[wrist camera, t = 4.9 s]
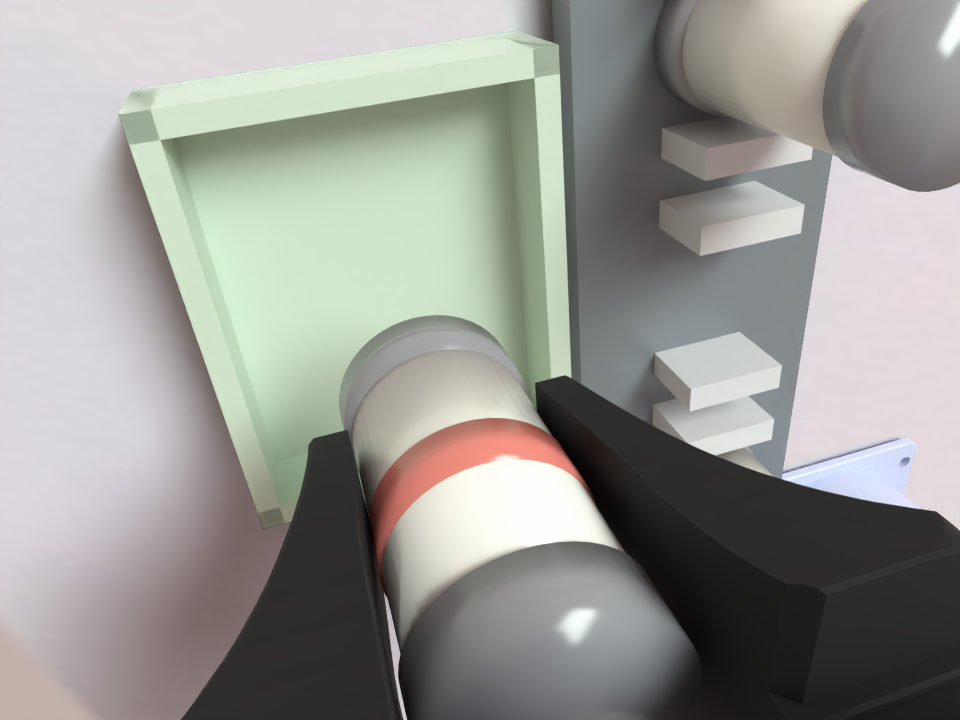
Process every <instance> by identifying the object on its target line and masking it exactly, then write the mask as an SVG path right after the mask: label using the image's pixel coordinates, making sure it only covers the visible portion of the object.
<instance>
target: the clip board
mask: <svg viewBox="0 0 960 720" xmlns="http://www.w3.org/2000/svg"><path fill="white" fill-rule="evenodd" d="M665 1H666V0H551V3H552V27H553V43H555V44H557V45H559V65H560V91H561V117H562V144H563V170H564V196H565V222H566V249H567V275H568V301H569V328H570V354H571V378H572V379H574V380H575V381H577V382H579V383H580V384H582V385H584V386H585V387H587V388H588V389H590V390H592V391H593V392H595V393H597V394H598V395H600V396H602V397H603V398H605V399H607V400H608V401H610V402H612V403H613V404H615V405H617V406H618V407H620V408H622V409H624V410H625V411H627V412H629V413H630V414H632V415H634V416H636V417H638V418H639V419H641V420H643V421H645V422H647V423H648V424H650V425H652V426H654V427H656V428H658V429H660V430H662V431H664V432H666V433H668V434H670V435H672V436H674V437H676V438H678V439H680V440H682V441H684V442H686V443H688V444H690V445H692V446H694V447H697V448H699V449H701V450H703V451H706V452H708V453H710V454H713V455H719V454H722V453H726V452H729V451H733V450H736V449H740V448H743V447H747V446H748V447H749V448H750V450H751V451H752V453H753V456H754V457H755V458H756V459H757V460H758V461H759V462H760V463H761V464H762V465H763V466H764V467H765V468H766V469H767V470H768V471H769V472H770V473H771V474H772V475H773V476H774V477H777V478H780V479H781V478H782V472H783V465H784V459H785V453H786V446H787V440H788V434H789V427H790V421H791V414H792V408H793V402H794V395H795V389H796V383H797V376H798V370H799V363H800V357H801V351H802V344H803V338H804V332H805V325H806V319H807V312H808V306H809V300H810V293H811V287H812V281H813V274H814V268H815V261H816V255H817V249H818V242H819V236H820V230H821V223H822V217H823V211H824V204H825V198H826V191H827V185H828V179H829V172H830V166H831V160H832V154H829V153H827V152H824V151H821V150H819V149H816V148H813V147H811V146H808V145H805V144H803V143H800V142H797V141H795V140H792V139H789V138H787V137H784V136H781V135H779V134H776V133H773V132H771V131H768V130H765V129H763V128H760V127H757V126H755V125H752V124H749V123H747V122H744V121H741V120H739V119H736V118H733V117H720V116H716V115H713V114H710V113H708V112H705V111H703V110H700V109H698V108H695V107H692V106H690V105H687V104H685V103H683V102H681V101H679V100H678V99H676V98H675V97H674V96H673V95H672V94H671V93H670V92H669V91H668V90H667V88H666V87H665V85H664V84H663V82H662V80H661V78H660V76H659V73H658V70H657V66H656V62H655V55H654V40H655V31H656V26H657V22H658V18H659V15H660V12H661V10H662V7H663V5H664V3H665Z"/></svg>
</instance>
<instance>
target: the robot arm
mask: <svg viewBox="0 0 960 720" xmlns="http://www.w3.org/2000/svg"><path fill="white" fill-rule="evenodd" d="M535 392H536V406H537V412H538V414H539V415H540V417H541V418H542V420H543V422H544V423H545V425H546V426H547V428H548V430H549V431H550V433H551V434H552V436H553V437H554V438H555V439H556V440H557V441H558V442H559V443H560V444H561V446H562V447H563V448H564V449H565V451H566V453H567V454H568V456H569V457H570V459H571V461H572V462H573V464H574V465H575V467H576V468H577V470H578V472H579V473H580V475H581V476H582V478H583V479H584V481H585V483H586V484H587V486H588V487H589V489H590V491H591V493H592V495H593V496H594V499H595V502H596V505H597V508H598V510H599V511H600V513H601V514H602V516H603V518H604V519H605V521H606V522H607V524H608V526H609V527H610V529H611V530H612V532H613V534H614V535H615V537H616V538H617V540H618V542H619V543H620V545H621V546H622V548H623V550H624V551H625V553H626V554H628V555H629V556H631V557H632V558H633V559H635V560H636V561H637V562H638V563H639V564H640V565H641V566H642V567H643V568H644V570H645V571H646V572H647V574H648V575H649V577H650V578H651V580H652V581H653V583H654V585H655V586H656V588H657V589H658V591H659V592H660V594H661V595H662V597H663V599H664V600H665V602H666V603H667V605H668V606H669V608H670V610H671V611H672V613H673V614H674V616H675V617H676V619H677V620H678V622H679V624H680V625H681V627H682V628H683V630H684V631H685V633H686V635H687V636H688V638H689V639H690V641H691V642H692V644H693V646H694V647H695V649H696V651H697V653H698V655H699V659H700V663H701V674H702V678H701V684H700V689H699V693H698V696H697V699H696V701H695V703H694V706H693V708H692V710H691V712H690V714H689V715H688V717H687V718H686V720H960V530H958V529H957V528H956V527H955V526H954V525H952V524H951V523H950V522H949V521H948V520H946V519H945V518H944V517H942V516H941V515H940V514H939V513H937V512H935V511H929V510H923V509H921V508H920V507H918V506H917V505H916V504H915V503H914V502H912V501H911V500H910V499H909V498H908V497H907V496H905V495H904V492H905V488H906V485H907V481H908V477H909V474H910V470H911V467H912V463H913V459H914V456H915V452H916V444H915V443H914V442H913V441H911V440H910V439H908V438H903V439H899V440H896V441H892V442H889V443H885V444H882V445H879V446H875V447H872V448H869V449H865V450H862V451H858V452H855V453H852V454H848V455H845V456H841V457H838V458H835V459H831V460H828V461H824V462H821V463H818V464H814V465H811V466H808V467H804V468H801V469H797V470H794V471H791V472H787V473H784V474H782V478H781V479H780V478H777V477H773V476H770V475H767V474H764V473H761V472H758V471H755V470H752V469H749V468H746V467H743V466H741V465H738V464H736V463H733V462H731V461H728V460H726V459H723V458H720V457H718V456H715V455H713V454H710V453H708V452H706V451H703V450H701V449H699V448H697V447H694V446H692V445H690V444H688V443H686V442H684V441H682V440H680V439H678V438H676V437H674V436H672V435H670V434H668V433H666V432H664V431H662V430H660V429H658V428H656V427H654V426H652V425H650V424H648V423H647V422H645V421H643V420H641V419H639V418H638V417H636V416H634V415H632V414H630V413H629V412H627V411H625V410H624V409H622V408H620V407H618V406H617V405H615V404H613V403H612V402H610V401H608V400H607V399H605V398H603V397H602V396H600V395H598V394H597V393H595V392H593V391H592V390H590V389H588V388H587V387H585V386H584V385H582V384H580V383H579V382H577V381H575V380H574V379H572V378H570V377H568V376H566V375H564V376H560V377H556V378H552V379H548V380H544V381H540V382H536V383H535ZM181 720H403V717H402V712H401V708H400V703H399V699H398V693H397V687H396V681H395V676H394V668H393V660H392V652H391V645H390V637H389V629H388V621H387V613H386V606H385V598H384V590H383V588H382V585H381V582H380V577H379V573H378V568H377V564H376V560H375V555H374V551H373V546H372V542H371V537H370V532H369V516H368V511H367V507H366V503H365V499H364V495H363V491H362V487H361V483H360V478H359V474H358V470H357V466H356V462H355V458H354V454H353V449H352V445H351V441H350V437H349V433H348V430H344V431H340V432H336V433H332V434H328V435H324V436H320V437H316V438H313V439H312V441H311V442H310V443H309V445H308V457H307V464H306V469H305V474H304V479H303V483H302V487H301V491H300V495H299V498H298V501H297V505H296V508H295V511H294V515H293V518H292V521H291V524H290V527H289V530H288V532H287V535H286V538H285V540H284V543H283V546H282V548H281V551H280V553H279V556H278V559H277V561H276V563H275V566H274V568H273V570H272V573H271V575H270V577H269V579H268V581H267V583H266V586H265V588H264V590H263V592H262V594H261V596H260V598H259V600H258V602H257V604H256V606H255V607H254V609H253V611H252V613H251V615H250V616H249V618H248V620H247V622H246V623H245V625H244V627H243V629H242V631H241V632H240V634H239V636H238V638H237V639H236V641H235V643H234V644H233V646H232V647H231V649H230V651H229V652H228V654H227V655H226V657H225V659H224V660H223V662H222V663H221V664H220V666H219V667H218V669H217V670H216V672H215V673H214V675H213V676H212V677H211V679H210V680H209V682H208V683H207V685H206V686H205V687H204V689H203V690H202V692H201V693H200V695H199V696H198V698H197V699H196V700H195V702H194V703H193V705H192V706H191V707H190V709H189V710H188V711H187V713H186V714H185V715H184V716H183V718H182V719H181Z"/></svg>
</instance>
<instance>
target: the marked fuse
mask: <svg viewBox="0 0 960 720" xmlns="http://www.w3.org/2000/svg"><path fill="white" fill-rule="evenodd" d="M339 410H340V415H341V420H342V424H343V429H344V430H348V433H349V437H350V441H351V445H352V449H353V454H354V458H355V462H356V466H357V470H358V473H359V475H360V480H361V484H362V488H363V493H364V497H365V501H366V506H367V510H368V514H369V532H370V537H371V542H372V546H373V551H374V555H375V560H376V564H377V568H378V573H379V577H380V582H381V585H382V588H383V590H384V593H385V595H386V596H387V598H388V601H389V606H390V610H391V614H392V619H393V623H394V627H395V632H396V636H397V641H398V645H399V649H400V654H401V655H400V660H399V667H398V678H399V684H400V689H401V693H402V698H403V703H404V707H405V712H406V716H407V720H686V718H687V717H688V715H689V714H690V712H691V710H692V708H693V706H694V703H695V701H696V699H697V696H698V693H699V689H700V684H701V678H702V674H701V663H700V659H699V655H698V653H697V651H696V649H695V647H694V646H693V644H692V642H691V641H690V639H689V638H688V636H687V635H686V633H685V631H684V630H683V628H682V627H681V625H680V624H679V622H678V620H677V619H676V617H675V616H674V614H673V613H672V611H671V610H670V608H669V606H668V605H667V603H666V602H665V600H664V599H663V597H662V595H661V594H660V592H659V591H658V589H657V588H656V586H655V585H654V583H653V581H652V580H651V578H650V577H649V575H648V574H647V572H646V571H645V570H644V568H643V567H642V566H641V565H640V564H639V563H638V562H637V561H636V560H635V559H633V558H632V557H631V556H629V555H628V554H626V553H625V551H624V550H623V548H622V546H621V545H620V543H619V542H618V540H617V538H616V537H615V535H614V534H613V532H612V530H611V529H610V527H609V526H608V524H607V522H606V521H605V519H604V518H603V516H602V514H601V513H600V511H599V510H598V508H597V505H596V502H595V499H594V496H593V495H592V493H591V491H590V489H589V487H588V486H587V484H586V483H585V481H584V479H583V478H582V476H581V475H580V473H579V472H578V470H577V468H576V467H575V465H574V464H573V462H572V461H571V459H570V457H569V456H568V454H567V453H566V451H565V449H564V448H563V447H562V446H561V444H560V443H559V442H558V441H557V440H556V439H555V438H554V437H553V436H552V434H551V433H550V431H549V430H548V428H547V426H546V425H545V423H544V422H543V420H542V418H541V417H540V415H539V414H538V412H537V410H536V409H535V407H534V406H533V404H532V402H531V401H530V395H529V392H528V389H527V386H526V384H525V382H524V380H523V378H522V377H521V375H520V373H519V372H518V370H517V369H516V367H515V366H514V364H513V362H512V361H511V359H510V358H509V356H508V355H507V353H506V351H505V350H504V348H503V347H502V345H501V344H500V343H499V342H498V340H497V339H496V338H495V337H494V336H493V335H492V334H491V333H490V332H489V331H487V330H486V329H484V328H483V327H481V326H480V325H477V324H475V323H473V322H471V321H469V320H466V319H462V318H459V317H453V316H446V315H430V316H421V317H416V318H412V319H408V320H405V321H402V322H399V323H397V324H395V325H393V326H390V327H389V328H387V329H385V330H383V331H382V332H380V333H379V334H377V335H376V336H375V337H373V338H372V339H371V340H369V341H368V342H367V343H366V344H365V345H364V346H363V347H362V348H361V349H360V350H359V352H358V353H357V354H356V355H355V356H354V358H353V359H352V361H351V363H350V364H349V366H348V367H347V370H346V372H345V374H344V376H343V379H342V383H341V387H340V393H339Z"/></svg>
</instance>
